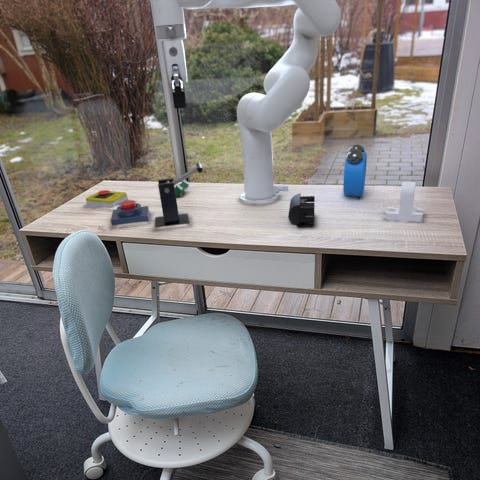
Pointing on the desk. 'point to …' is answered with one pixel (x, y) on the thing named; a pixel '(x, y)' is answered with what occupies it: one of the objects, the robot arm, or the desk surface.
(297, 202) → the end cap
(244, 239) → the desk surface
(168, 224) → the bracket
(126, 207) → the button
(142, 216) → the button box
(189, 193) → the desk surface
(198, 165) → the lever
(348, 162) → the alarm clock
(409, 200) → the cable organizer
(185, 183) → the gaming controller
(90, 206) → the emergency button
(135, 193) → the desk surface
